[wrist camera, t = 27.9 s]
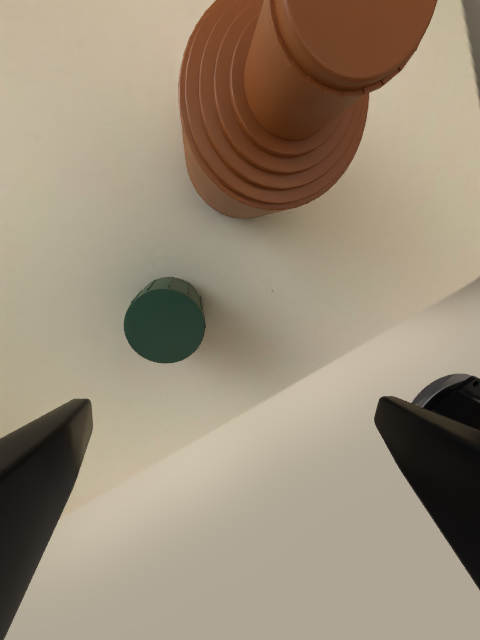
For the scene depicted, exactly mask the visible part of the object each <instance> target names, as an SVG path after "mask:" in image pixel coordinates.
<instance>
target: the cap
mask: <svg viewBox="0 0 480 640" xmlns="http://www.w3.org/2000/svg"><path fill="white" fill-rule="evenodd" d="M131 303H132V304H131V305H130V306H129V308H128V310H127V312H126V315H125V319H124V331H125V335H126V338H127V340H128V342H129V344H130V345H131V347H132V348H133V349H134V350H135V351H136V352H137V353H138V354H139V355H141V356H142V357H144V358H146V359H148V360H150V361H153V362H157V363H174V362H178V361H181V360H183V359H185V358H187V357H188V356H190V355H191V354H192V353H194V352H195V351H196V349H197V348H198V347H199V345H200V344H201V342H202V340H203V337H204V332H205V328H206V326H205V317H204V312H203V304H202V300H201V296H200V295H199V293H198V292H197V291H196V289H195V288H194V287H193V286H192V285H190V283H188V282H186V281H184V280H182V279H178V278H173V277H166V278H160V279H157V280H154V281H153V282H151V283H150V284H149V285H147V286H146V287H145V289H144V290H143V291H141V292H140V293H139V294H138V295H137V296H136V297H135V298H134V300H133V301H132V302H131Z"/></svg>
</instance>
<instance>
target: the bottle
mask: <svg viewBox="0 0 480 640" xmlns="http://www.w3.org/2000/svg"><path fill="white" fill-rule="evenodd" d="M436 3H437V0H216V1H215V2H214V3H213V4H212V5H211V6H210V7H209V8H208V9H207V10H206V11H205V13H204V14H203V16H202V17H201V19H200V20H199V21H198V23H197V24H196V26H195V28H194V30H193V32H192V34H191V36H190V38H189V41H188V44H187V46H186V49H185V52H184V55H183V60H182V64H181V69H180V77H179V107H180V116H181V124H182V132H183V141H184V149H185V157H186V165H187V169H188V173H189V176H190V179H191V181H192V183H193V185H194V187H195V189H196V191H197V192H198V194H199V195H200V196H201V197H202V199H203V200H204V201H205V202H206V203H207V204H208V205H209V206H211V207H212V208H213V209H215V210H216V211H218V212H220V213H222V214H224V215H227V216H230V217H235V218H252V217H257V216H261V215H266V214H270V213H274V212H279V211H283V210H287V209H292V208H296V207H299V206H302V205H304V204H307V203H309V202H311V201H313V200H315V199H316V198H318V197H319V196H321V195H322V194H324V193H325V192H326V191H328V190H329V189H330V188H331V187H332V186H333V185H334V184H335V183H336V182H337V181H338V180H339V178H340V177H341V176H342V175H343V174H344V172H345V171H346V169H347V168H348V166H349V165H350V163H351V161H352V159H353V157H354V155H355V153H356V151H357V149H358V146H359V144H360V141H361V138H362V135H363V131H364V127H365V123H366V117H367V111H368V103H369V93H370V92H372V91H375V90H377V89H379V88H381V87H382V86H383V85H385V84H386V83H387V82H388V81H389V80H391V79H392V78H393V77H394V76H395V75H396V74H398V73H399V72H400V71H401V70H402V69H403V67H404V66H405V65H406V63H407V62H408V61H409V59H410V58H411V56H412V55H413V54H414V52H415V51H416V50H417V48H418V45H419V43H420V41H421V39H422V37H423V35H424V34H425V32H426V30H427V28H428V26H429V23H430V21H431V18H432V16H433V13H434V10H435V7H436Z"/></svg>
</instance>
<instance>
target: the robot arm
mask: <svg viewBox="0 0 480 640" xmlns="http://www.w3.org/2000/svg"><path fill="white" fill-rule="evenodd" d="M374 421H375V425H376V427H377V429H378V431H379V433H380V434H381V436H382V438H383V440H384V442H385V444H386V445H387V447H388V449H389V451H390V452H391V455H392V456H393V458H394V460H395V462H396V464H397V465H398V467H399V469H400V470H401V472H402V473H403V475H404V477H405V478H406V479H407V481H408V483H409V484H410V486H411V487H412V489H413V490H414V492H415V493H416V495H417V496H418V498H419V499H420V501H421V502H422V504H423V505H424V507H425V508H426V510H427V511H428V513H429V514H430V516H431V517H432V519H433V520H434V522H435V523H436V525H437V526H438V528H439V529H440V531H441V532H442V534H443V535H444V537H445V538H446V540H447V541H448V543H449V544H450V546H451V547H452V549H453V550H454V552H455V553H456V555H457V557H458V558H459V560H460V561H461V563H462V564H463V565H464V567H465V569H466V570H467V571H468V573H469V575H470V576H471V578H472V579H473V581H474V582H475V584H476V585H477V587H478V588H479V590H480V379H479V378H477V377H475V376H470V377H469V378H467V379H466V380H465V381H463V382H462V383H461V384H459V385H458V386H457V387H455V388H454V389H453V390H452V391H450V392H449V393H448V394H446V395H445V396H444V397H442V398H441V399H440V400H438V401H437V402H436V403H434V404H433V405H432V406H431V407H429V408H428V409H424V408H422V407H419V406H417V405H414V404H412V403H409V402H407V401H404V400H402V399H399V398H396V397H393V396H383V397H381V398H380V399H379V402H378V406H377V409H376V413H375V417H374ZM92 429H93V418H92V405H91V401H90V400H89V399H73V400H71V401H69V402H67V403H65V404H64V405H62V406H60V407H58V408H56V409H54V410H52V411H51V412H49V413H47V414H45V415H43V416H41V417H40V418H38V419H36V420H34V421H32V422H30V423H28V424H27V425H25V426H23V427H21V428H19V429H17V430H16V431H14V432H12V433H10V434H8V435H6V436H4V437H3V438H1V439H0V640H4V638H5V636H6V634H7V632H8V629H9V627H10V625H11V623H12V621H13V618H14V616H15V614H16V612H17V610H18V608H19V606H20V603H21V601H22V599H23V597H24V595H25V592H26V590H27V588H28V586H29V583H30V581H31V579H32V577H33V575H34V573H35V570H36V568H37V566H38V564H39V562H40V560H41V557H42V555H43V553H44V551H45V548H46V546H47V544H48V542H49V540H50V538H51V536H52V533H53V531H54V529H55V527H56V525H57V522H58V520H59V518H60V516H61V514H62V512H63V509H64V507H65V505H66V503H67V501H68V498H69V496H70V494H71V492H72V489H73V487H74V484H75V481H76V479H77V476H78V473H79V470H80V467H81V464H82V461H83V458H84V455H85V452H86V449H87V446H88V443H89V440H90V437H91V434H92Z"/></svg>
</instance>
